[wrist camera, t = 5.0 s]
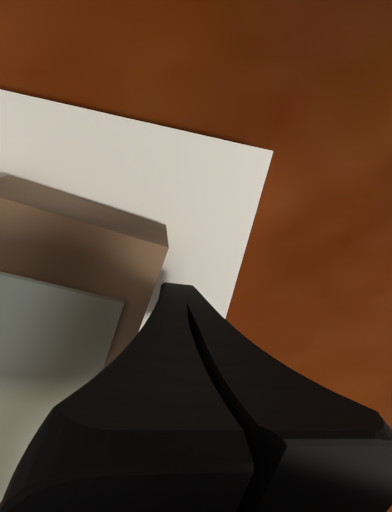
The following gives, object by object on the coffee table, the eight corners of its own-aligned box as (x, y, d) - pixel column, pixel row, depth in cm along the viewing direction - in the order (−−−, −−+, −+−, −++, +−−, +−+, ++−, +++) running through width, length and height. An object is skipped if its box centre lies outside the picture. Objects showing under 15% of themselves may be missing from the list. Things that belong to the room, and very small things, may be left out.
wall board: (262, 149, 10) (274, 151, 9) (172, 480, 18) (173, 501, 17) (-312, 20, 7) (-387, 1, 6) (-132, 490, 14) (-154, 516, 13)
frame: (166, 224, 10) (169, 253, 7) (74, 488, 15) (59, 555, 12) (9, 174, 8) (-47, 189, 6) (-33, 481, 13) (-73, 555, 11)
